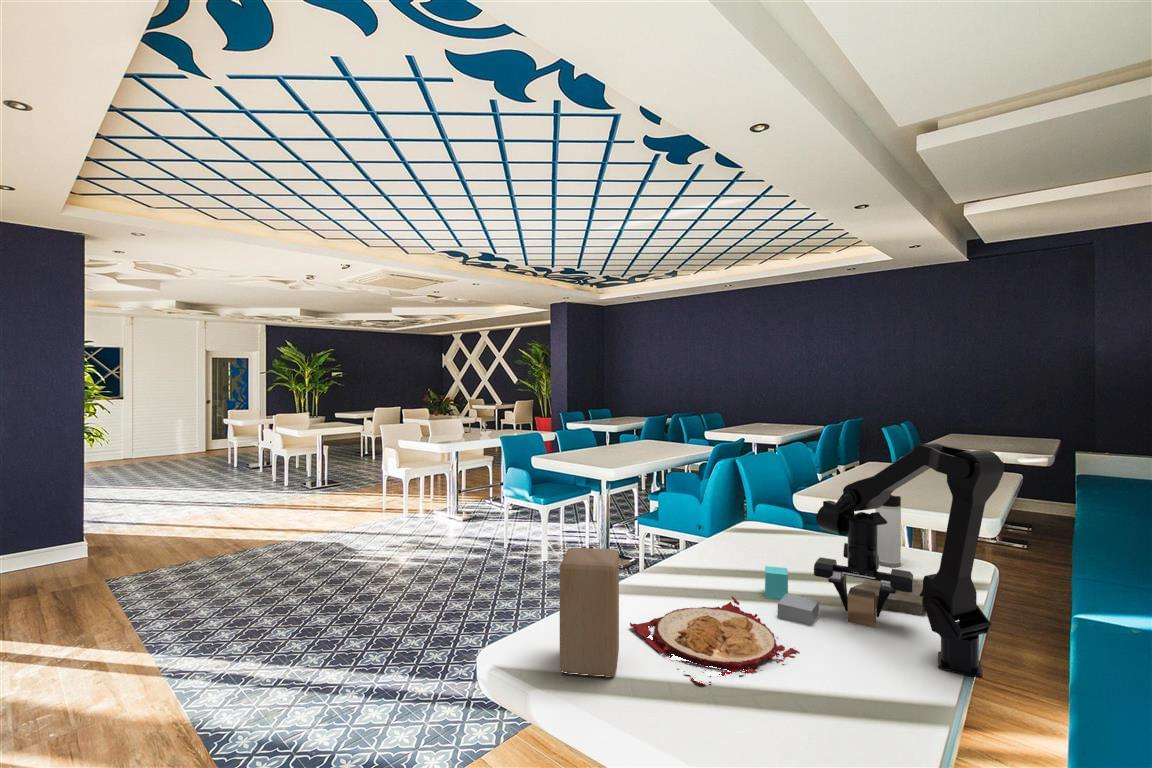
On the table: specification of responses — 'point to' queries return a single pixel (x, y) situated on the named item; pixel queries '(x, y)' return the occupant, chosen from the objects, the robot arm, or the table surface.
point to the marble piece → (897, 597)
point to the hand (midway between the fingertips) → (862, 613)
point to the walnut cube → (862, 607)
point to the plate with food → (714, 637)
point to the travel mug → (890, 533)
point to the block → (589, 611)
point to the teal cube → (776, 582)
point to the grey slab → (798, 609)
